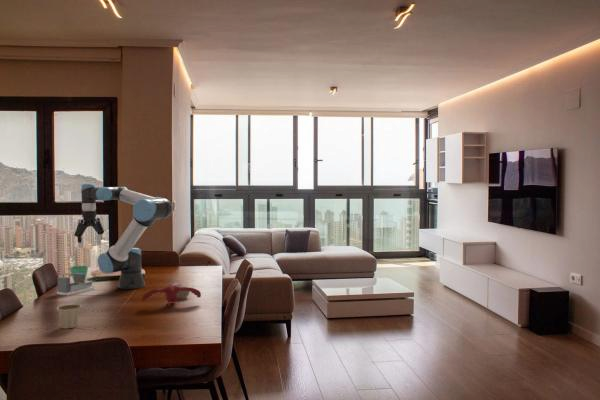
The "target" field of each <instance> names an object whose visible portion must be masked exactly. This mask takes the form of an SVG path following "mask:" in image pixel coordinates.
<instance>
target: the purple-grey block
mask: <svg viewBox="0 0 600 400" xmlns="http://www.w3.org/2000/svg"><path fill="white" fill-rule="evenodd" d="M75 282H78V283H75ZM71 283H72V284H70V286H73V285H77V284H82V283H86V279H85V274H81V273H74V280H73V282H71Z"/></svg>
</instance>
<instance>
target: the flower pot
mask: <svg viewBox="0 0 600 400" xmlns="http://www.w3.org/2000/svg"><path fill="white" fill-rule="evenodd" d="M81 308H82V305H81V304H65V305H60V306H58V307H57V308H56V310H57V311H58V312H57V313H58V314H59V318H60V324H61V325H60V326H61V328H62V329H70V328H71V329H74V328H76V327H78V324H79V323H78V322H79V315H80V310H81Z"/></svg>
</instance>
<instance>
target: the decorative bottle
mask: <svg viewBox="0 0 600 400" xmlns="http://www.w3.org/2000/svg"><path fill="white" fill-rule="evenodd" d="M168 286H178V287H182V288H183V287H184V288H185V287H186V286H185V285H183V284H181V283H179V282H178V281H172V282H169V283H168V284H167V287H168ZM189 295H190V292H189V291H185V290H184V291H179V292H178V293H177V297H179V298H178V299H179V300H184V299H186V298H187V297H188V296H189Z"/></svg>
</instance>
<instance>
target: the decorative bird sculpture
mask: <svg viewBox="0 0 600 400" xmlns="http://www.w3.org/2000/svg"><path fill="white" fill-rule="evenodd" d="M184 290H185V291H189V293H191V294H193V295H194V296H196V297H197V298H200V299H201V296H202V293H201V291H200V290H198V289H197V288H194V287H187V286H185V288H184V287H183V288H182V287H178V286H168V285H167V286H166V287H163V288H157V289H156V288H155V289H152V290H150V291H147V292H146V293H144V294H143V295H142V302H145V301H147V299H149V298H150V297H151V296H152V295H155V294H157V293H164V294H166V297H165V298H164V299H165V301H167V303H168V307H170V306H171V305H170V303H174V306H177V304H176V302H177V300H178V299H179V297H177V293H178V292H179V291H184Z"/></svg>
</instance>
